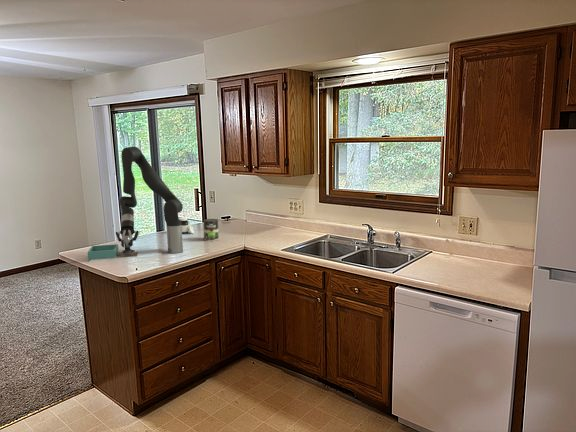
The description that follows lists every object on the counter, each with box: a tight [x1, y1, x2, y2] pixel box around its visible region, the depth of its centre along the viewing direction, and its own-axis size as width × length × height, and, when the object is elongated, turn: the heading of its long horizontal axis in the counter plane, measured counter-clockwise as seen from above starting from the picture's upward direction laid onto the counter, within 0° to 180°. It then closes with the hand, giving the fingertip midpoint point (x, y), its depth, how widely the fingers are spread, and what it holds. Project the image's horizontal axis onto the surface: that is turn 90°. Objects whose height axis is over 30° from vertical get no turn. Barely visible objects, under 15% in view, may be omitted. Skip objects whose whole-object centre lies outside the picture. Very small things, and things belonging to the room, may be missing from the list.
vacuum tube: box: [123, 235, 133, 253], centre depth 260 cm, size 5×5×12 cm
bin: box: [87, 243, 120, 262], centre depth 260 cm, size 15×15×6 cm
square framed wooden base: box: [116, 249, 139, 259], centre depth 261 cm, size 11×11×3 cm
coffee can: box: [203, 218, 220, 242], centre depth 304 cm, size 10×10×14 cm
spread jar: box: [178, 216, 195, 235], centre depth 326 cm, size 12×11×12 cm
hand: (127, 246), depth 259 cm, fingers open, 3 cm apart
